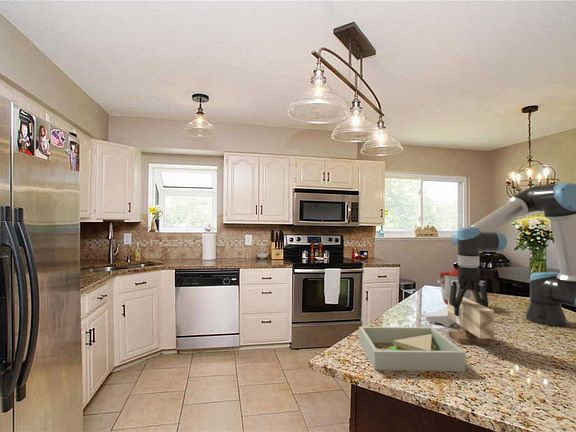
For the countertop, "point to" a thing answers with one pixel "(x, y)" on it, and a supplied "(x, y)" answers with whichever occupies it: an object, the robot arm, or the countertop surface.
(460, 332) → the fulcrum
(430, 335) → the sandwich
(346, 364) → the countertop surface
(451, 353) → the sandwich crate
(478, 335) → the beam
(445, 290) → the citrus juicer
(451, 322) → the decorative molding
